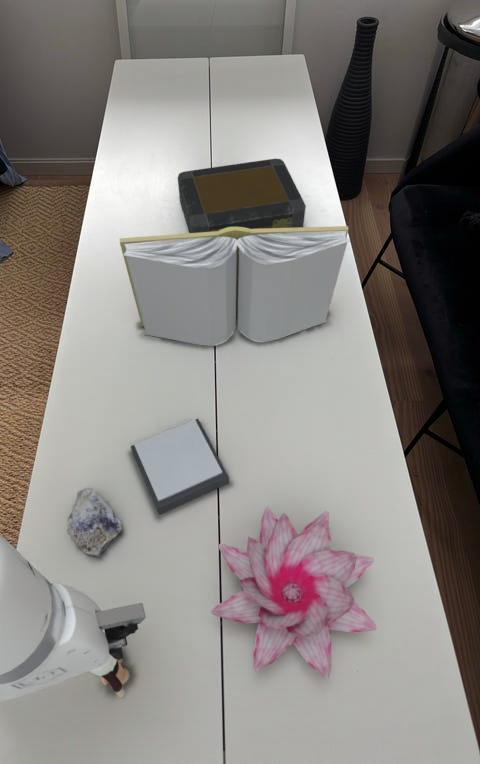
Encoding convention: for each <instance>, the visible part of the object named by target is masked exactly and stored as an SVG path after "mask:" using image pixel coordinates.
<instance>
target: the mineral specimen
mask: <svg viewBox="0 0 480 764" xmlns="http://www.w3.org/2000/svg"><path fill="white" fill-rule="evenodd" d="M76 496H77V497H76V499H75V501H74V504H73V506H72V509H71V513H70V514H69V516H68V518H67V521H68V524H69V525H68V526H67V530H66V532H67V535H68V536H69V537H70V539H71V540H73V542H76V545H77V546H79V548H80V549H81V550H82V552H83V553H84V554H86V555H88V556H91V557H98V558H99V557H100V556H101V555H102V554H103V552H104V551H105V549H106V548H107V547H108V545H109V544H110V543H111V541H112V540H114V539H115V538H116V536H118V535H119V534H120V532H121V531H122V530H123V528H122V522H121V521H120V519H118V518H117V517H114V512H113V510H112V507H111V506H110V505H109V503H108V501H107V500H105V499H104V498H103V497H102V496H101V495H100V493H99V492H98V490H96V489H94V488H93V487H89V488H83V489H80V490H79V491H77V493H76Z"/></svg>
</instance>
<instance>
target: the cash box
mask: <svg viewBox="0 0 480 764" xmlns="http://www.w3.org/2000/svg"><path fill="white" fill-rule="evenodd" d="M293 179H294V178H293V177H292V175H291V173H290V171H289V169H288V167H287V165H286V163H285V162H284V160H283V159H281V158H270V159H269V158H268V159H261V160H256V161H248V162H241V163H234V164H226V165H220V166H214V167H213V166H212V167H207V168H200V169H193V170H185V171H182V172H179V173H178V175H177V185H178V195H179V203H180V206H181V210H182V213H183V216H184V220H185V224H186V227H187V230H188V233H201V232H214V231H219V230H221V229H224V228H227V227H245V228H249V229H265V228H300V227H304V225H305V224H304V223H305V216H306V207H307V206H306V204H305V201H304V199H303V197H302V195H301V193H300V191H299V189H298V187H297V185H296V183H295V181H294V180H293Z"/></svg>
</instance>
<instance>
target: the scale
mask: <svg viewBox="0 0 480 764" xmlns="http://www.w3.org/2000/svg"><path fill="white" fill-rule="evenodd" d="M130 450H131V452H132V455H133V458H134V460H135V462H136V464H137V467H138V469H139V471H140V473H141V476H142V478H143V481H144V483H145V485H146V488H147V490H148V492H149V495H150V497H151V499H152V502H153V504H154V507H155V509H156V511H157V514H158V515H159V516H160V515H162V514H164V513H167V512H168V511H171V510H173V509H175V508H178V507H180V506H182V505H184V504H186V503H188V502H191V501H193V500H195V499H198V498H200V497H202V496H205V495H207V494H209V493H211V492H213V491H216V490H217V489H219V488H223V487H224V486H227V485H229V484H230V483H229V482H230V481H229V480H230V479H229V475H228V473H227V471H226V468H224V465H223V463H222V462H221V460H220V458H219V456H218V454H217V452H216V450H215V448H214V446H213V443H212V442H211V441H210V439H209V437H208V435H207V433H206V431H205V429H204V428H203V425H202V423H201V422H200V419H199V418H195V419H192V420H190V421H187V422H185V423H182V424H180V425H178V426H175V427H173V428H171V429H168V430H166V431H163V432H161V433H157V434H156V435H154V436H151V437H148V438H145V439H143V440H141V441H139V442H137V443H134V444H131V445H130Z"/></svg>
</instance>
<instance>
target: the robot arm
mask: <svg viewBox="0 0 480 764" xmlns="http://www.w3.org/2000/svg"><path fill="white" fill-rule="evenodd" d="M146 617H147V616H146V613H145V608H144V603H143V602H139V603H134V604H129V605H124V606H123V605H122V606H118V607H114V608H110V609H103V610H101V607H100V606H99V605H98V604H97V603H96V602H95V601H94V600H93V599H92V598H91V597H89V596H88V595H87V594H86V593H84V592H82V591H80V590H79V589H77V588H75V587H72V586H68V585H67V584H63V583H60V582H53V583H52V582H50V581H49V580H48V579H47V578H46V577H45V576H44V575H43V574H42V573H41V572H40V571H38V569H36V567H35V566H34V565H32V563H30V561H29V560H27V558H25V557H24V556H23V555H22V554H21V553H20V552H19V551H18V549H16V548H15V547H14V545H12V543H10V542H9V541H8V539H6V538H5V537H4V536H3V535H2V534H1V533H0V703H2V702H7V701H10V700H13V699H17V698H19V697H22V696H25V695H29V694H30V693H31V694H32V693H34V692H36V691H39V690H42V689H46V688H48V687H50V686H54V685H57V684H59V683H61V682H65V681H66V680H69V679H72V678H74V677H78V676H81V675H82V674H85V673H88V672H90V670H93V669H95V668H97V667H99V666H101V665H103V664H104V663H105V662H106V661H107V659H108V657H109V654H110V655H111V656H112V657H113V658H115V659H117V660H120V659H122V660H123V659H125V657H124V652H123V648H124V647H126V646H128V639H127V637H129V636H130V635H133V634H135V633H136V631H137V630H139V625H140V624H142V622H143V621H144V620H145V619H146Z"/></svg>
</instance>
